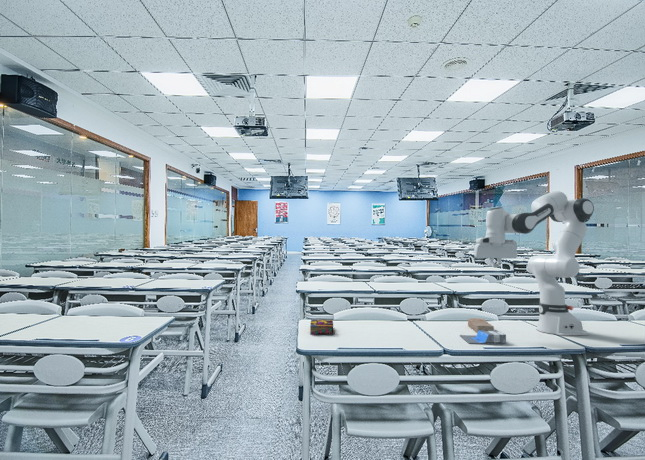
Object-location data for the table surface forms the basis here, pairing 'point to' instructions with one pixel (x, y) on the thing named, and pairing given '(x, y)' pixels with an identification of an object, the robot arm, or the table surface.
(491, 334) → the label tape cartridge
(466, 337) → the pad
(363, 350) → the table surface
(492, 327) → the brick
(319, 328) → the decorated brown box
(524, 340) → the table surface
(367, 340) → the table surface
